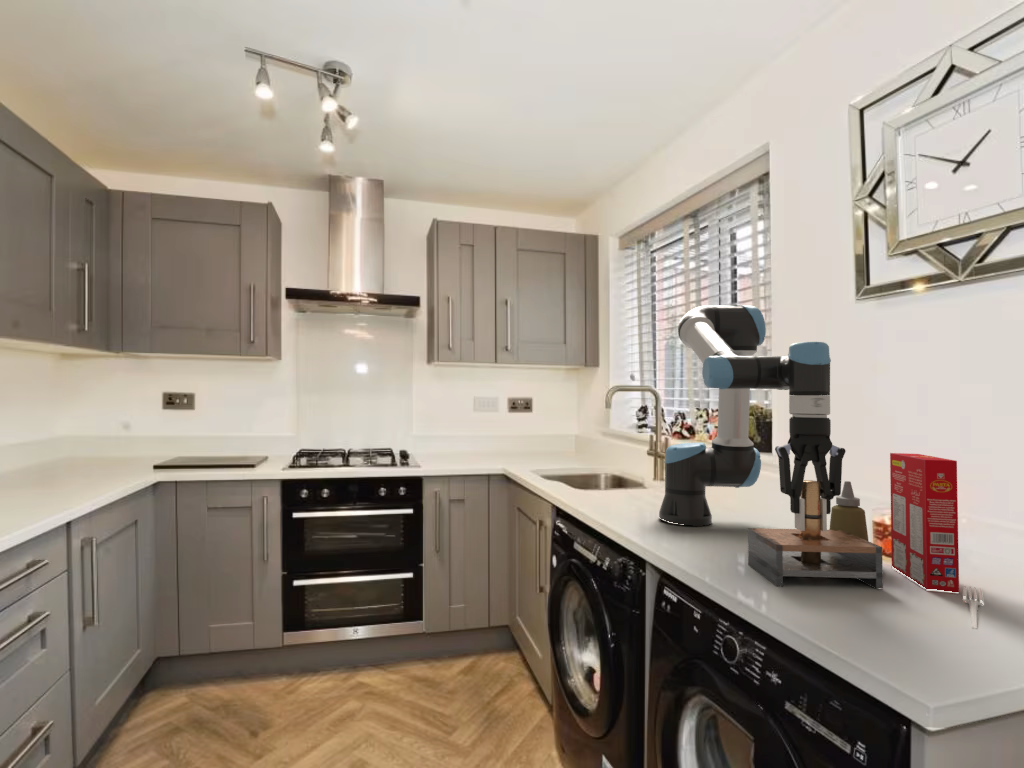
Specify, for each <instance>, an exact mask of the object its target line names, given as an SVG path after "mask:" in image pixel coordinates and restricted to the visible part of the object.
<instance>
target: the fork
mask: <svg viewBox="0 0 1024 768" xmlns="http://www.w3.org/2000/svg"><path fill="white" fill-rule="evenodd" d="M962 595H963V596H967V597H968V598H969V597H970V598H972V597H973V598H972V600H969V599H967V600H964V601H966V602H967V603H966V604H968V605H969V606H970V607H969V614H971V616H970V621H971V622H970V623H971V629H974V630H978V617H977V613H978V612H979V611H978V612H977V610H979V609H978V607H979V606H980V605H983V604H982V603H980V602H979V600H982V601H984V602H985V599H984V598H985V597H984V594H983V590H982V588H981V587H979V600H978V596H977V589H976V587H973V596H972V588H971V586H968V595H967V586H966V585H964V587H963V591H962ZM974 598H975V599H977V601H974ZM983 606H984V605H983Z"/></svg>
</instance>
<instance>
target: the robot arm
mask: <svg viewBox="0 0 1024 768" xmlns="http://www.w3.org/2000/svg"><path fill="white" fill-rule="evenodd" d="M766 330H767V328H766V321H765V317H764V315H763V312H762V311H761V309H759V308H758V307H757V306H754V305H744V304H735V305H726V304H725V305H702V306H697V307H695V308H693V309H691V310H689V311H688V312H687V313H685V314H684V315H683V316H682V318H681V319H680V321H679V323H678V326H677V334H678V337H679V339H680V341H681V342H682V344H683V346H685V347H687V348H689V349H692V351H693V352H694V354H695V355H696V356H697V358H698V359H699V360H700V361H701V362H702V379H703V384H704V386H705V387H707V388H709V389H718V403H717V405H718V411H717V412H718V413H717V434H716V437H714V439H712V440H711V447H707V446H706V444H705V442H686V443H685V442H684V443H677V444H672V445H669V446H668V447H667V448H666V449H665V454H664V497H663V499H662V502H661V505H660V507H659V508H660V509H659V510H658V511H659V512H658V518H659V517H660V518H661V519H664V520H666V521H669V522H673V523H678V524H684V525H693V526H692V527H703V525H705V526H709V524H710V525H711V524H712V523H713V521H712V520H713V519H712V518H713V516H712V512H711V509H710V507H709V503H708V500H707V498H706V497H707V496H706V487H717V488H718V487H720V488H721V487H723V488H735V489H737V488H738V489H739V488H749V487H752V486H754V484H755V483H756V482H757V481H758V479H759V476H760V474H761V468H762V460H761V453H760V452H759V450H758V449H757V448H755V447H754V445H755V444H754V442H753V441H752V440H751V439H750V438H749V432H750V431H749V429H750V428H749V427H750V426H749V425H750V401H751V400H750V394H751V390H752V389H755V390H780V391H781V390H782V391H789V392H788V396H789V397H788V398H789V399H788V402H789V403H788V408H789V409H788V412H789V414H790V415H792V416H790V418H789V421H788V422H789V424H788V425H789V431H788V433H789V439H788V441H787V444H784V445H781V446H775V449H774V451H775V453H776V456H777V457H778V469H779V470H778V471H779V485H780V486H779V487H780V489H779V490H780V492H781V493H782V494H785V495H786V496H789V498H790V499H789V500H790V502H789V504H790V512H791V513H793V514H794V529H798V530H800V531H805V499H803V498H801V491H802V486H803V480H805V474H806V469H807V466H808V464H809V462H811V463H812V465H813V468H814V473H815V478H816V481H819V482H820V513H821V531H827V530H828V523H827V522H828V521H827V520H828V518H827V516H828V515H831V509H832V506H831V505H832V504H831V500H833V499H834V497H837V496H841V495H842V473H843V459H844V456H845V454H846V452H847V450H846V449H845V448H844V447H839V446H837V445H834V444H833V442H832V440H831V438H830V437H831V426H832V424H831V423H832V422H831V419H830V417H828V415H830V414H831V363H832V362H831V361H832V360H831V357H830V356H831V355H830V346H829V345H828V343H827V342H824V341H800V342H794V343H791V344H790V345H789V347H788V354H787V355H758V356H757V355H755V353H757V351H758V346H761V345H763V343H764V341H765V337H766V332H767V331H766ZM790 451H791V452H792V454H794V459H793V463H794V466H793V470H792V471H793V472H791V460H790V455H791V452H790ZM827 454H829V455H830V457H829V466H828V467H829V470H828V471H829V473H828V471H827V469H828V468H827V460H826V459H827V458H826V456H827ZM791 473H792V475H791Z"/></svg>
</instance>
